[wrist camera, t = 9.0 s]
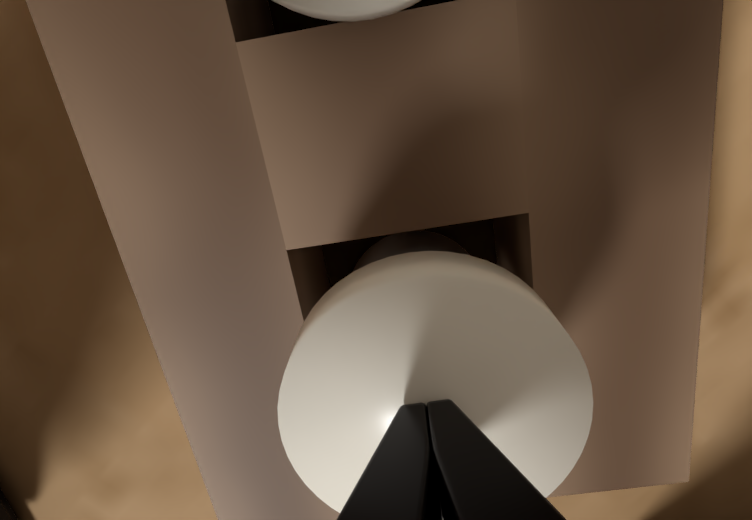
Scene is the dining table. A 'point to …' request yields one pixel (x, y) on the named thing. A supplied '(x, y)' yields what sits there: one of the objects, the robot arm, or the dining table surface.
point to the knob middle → (346, 8)
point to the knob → (431, 365)
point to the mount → (400, 194)
